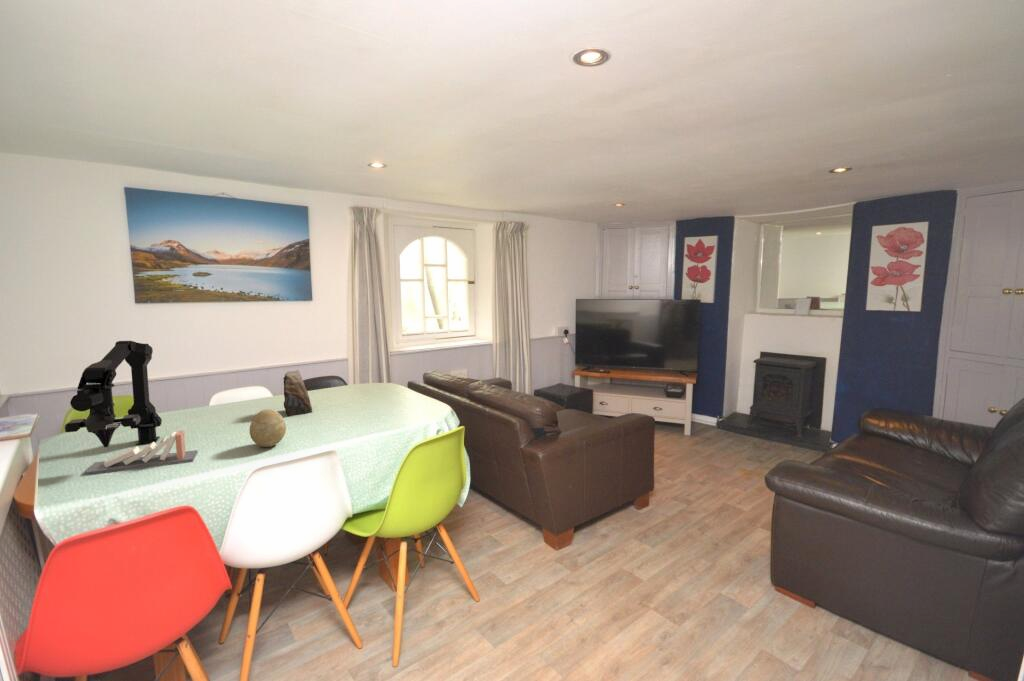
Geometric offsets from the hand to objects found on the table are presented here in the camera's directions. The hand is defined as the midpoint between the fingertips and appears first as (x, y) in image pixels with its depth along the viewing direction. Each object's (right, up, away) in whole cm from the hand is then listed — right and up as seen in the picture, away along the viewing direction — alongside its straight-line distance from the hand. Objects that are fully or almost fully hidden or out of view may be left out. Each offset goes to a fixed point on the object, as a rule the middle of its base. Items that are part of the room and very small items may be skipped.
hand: (106, 446), depth 157 cm
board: (+9, -7, +5) cm, 12 cm away
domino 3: (+9, -5, +5) cm, 12 cm away
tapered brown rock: (+34, +1, +68) cm, 76 cm away
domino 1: (0, -6, +1) cm, 6 cm away
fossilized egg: (+43, -5, +24) cm, 50 cm away
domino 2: (+5, -6, +3) cm, 8 cm away
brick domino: (+19, -6, +9) cm, 22 cm away
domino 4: (+14, -6, +8) cm, 17 cm away
